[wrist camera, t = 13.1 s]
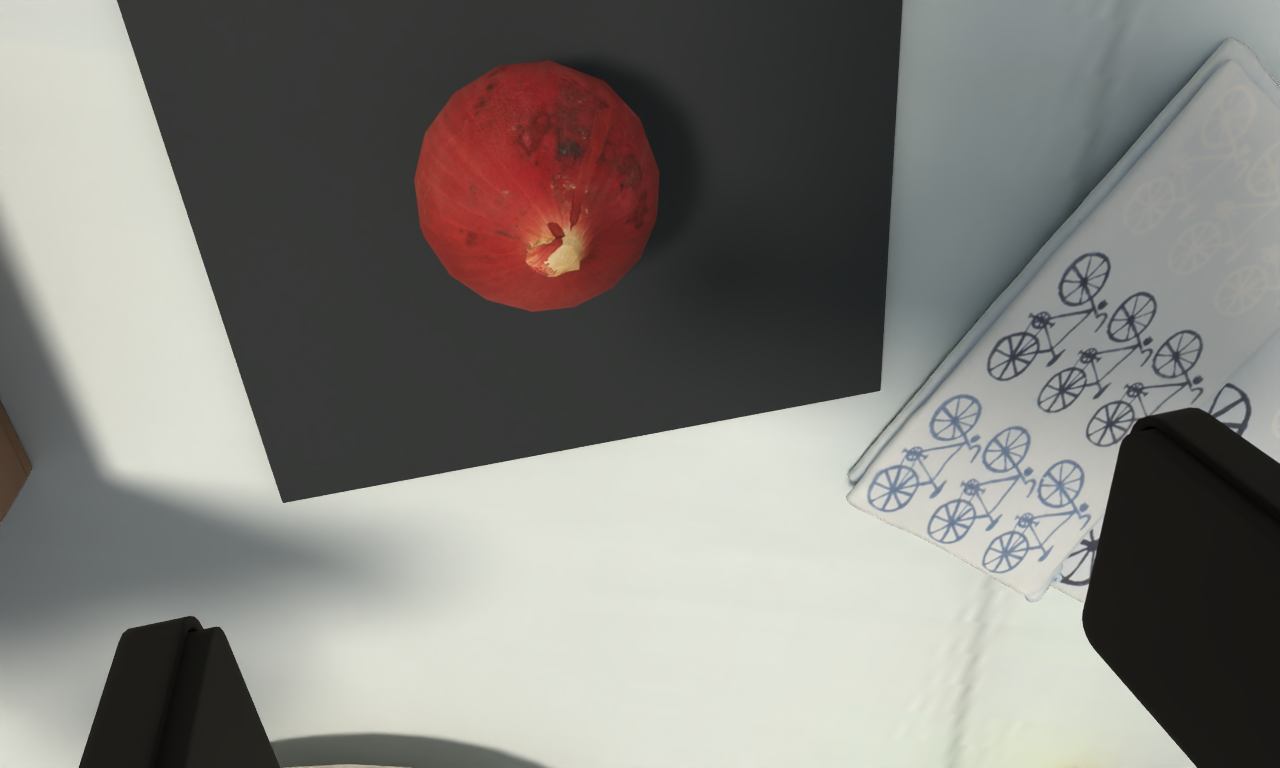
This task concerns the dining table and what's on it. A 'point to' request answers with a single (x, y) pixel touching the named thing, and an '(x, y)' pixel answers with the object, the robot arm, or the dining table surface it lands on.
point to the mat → (496, 333)
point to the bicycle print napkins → (1103, 344)
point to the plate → (348, 766)
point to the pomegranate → (537, 186)
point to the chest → (10, 464)
